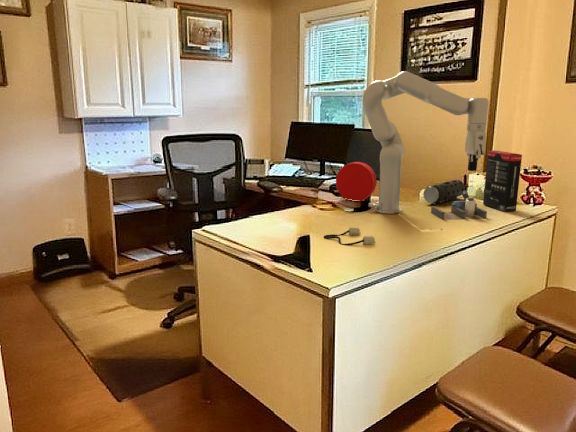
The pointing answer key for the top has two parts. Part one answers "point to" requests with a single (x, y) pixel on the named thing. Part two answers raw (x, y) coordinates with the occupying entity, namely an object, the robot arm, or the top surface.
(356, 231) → the cable
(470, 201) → the cream plastic cylinder
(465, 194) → the portable electronic device stand
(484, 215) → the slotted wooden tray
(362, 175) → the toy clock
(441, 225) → the top surface
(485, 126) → the robot arm
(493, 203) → the graphics card box
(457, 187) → the muzzle brake
